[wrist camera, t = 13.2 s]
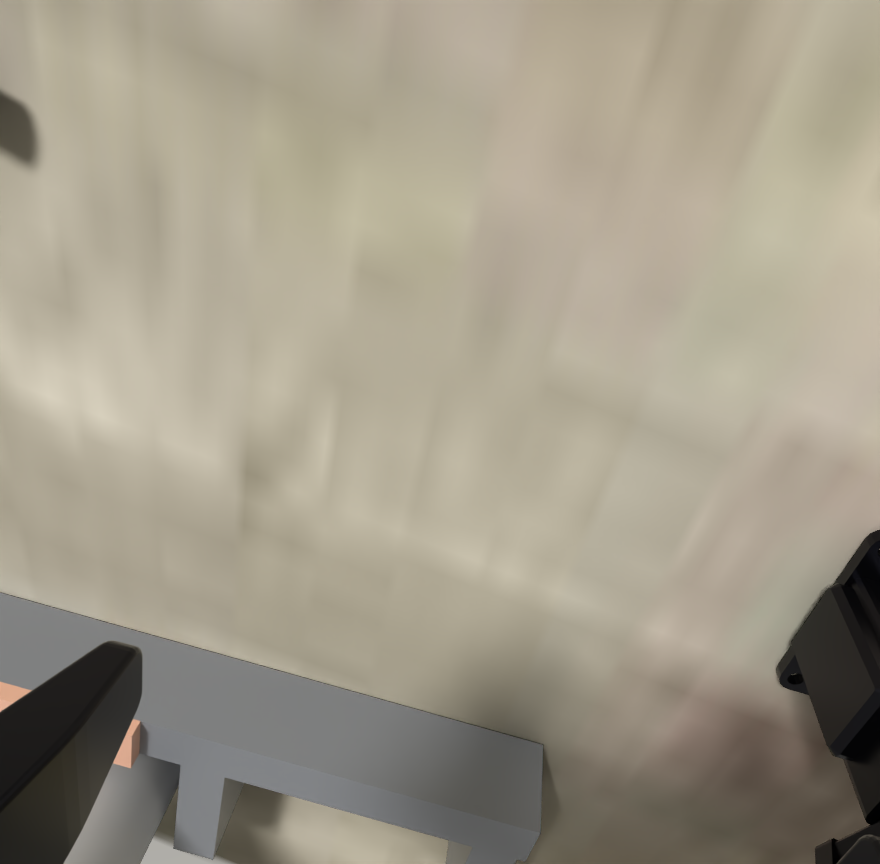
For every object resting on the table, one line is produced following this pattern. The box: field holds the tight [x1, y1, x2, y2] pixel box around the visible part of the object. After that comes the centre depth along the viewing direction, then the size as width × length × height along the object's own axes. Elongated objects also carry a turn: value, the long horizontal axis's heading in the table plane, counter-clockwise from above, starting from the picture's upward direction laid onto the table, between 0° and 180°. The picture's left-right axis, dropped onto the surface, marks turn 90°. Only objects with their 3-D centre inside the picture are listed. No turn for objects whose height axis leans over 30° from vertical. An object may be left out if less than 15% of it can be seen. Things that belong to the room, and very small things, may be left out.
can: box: [63, 753, 181, 864], centre depth 26 cm, size 8×8×12 cm
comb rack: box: [0, 593, 543, 864], centre depth 29 cm, size 23×7×4 cm, turn 77°
